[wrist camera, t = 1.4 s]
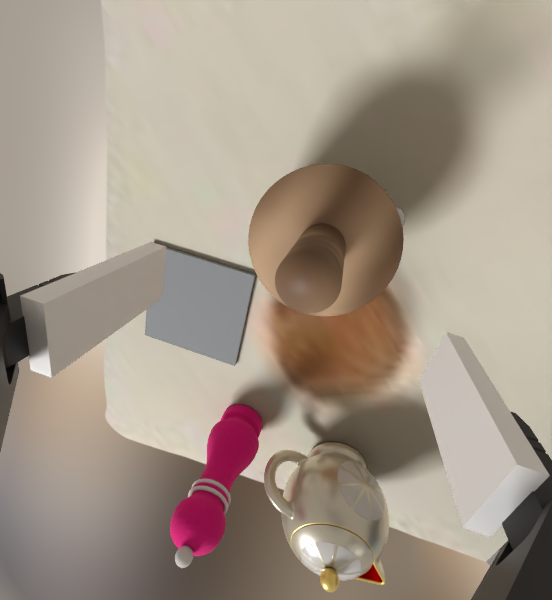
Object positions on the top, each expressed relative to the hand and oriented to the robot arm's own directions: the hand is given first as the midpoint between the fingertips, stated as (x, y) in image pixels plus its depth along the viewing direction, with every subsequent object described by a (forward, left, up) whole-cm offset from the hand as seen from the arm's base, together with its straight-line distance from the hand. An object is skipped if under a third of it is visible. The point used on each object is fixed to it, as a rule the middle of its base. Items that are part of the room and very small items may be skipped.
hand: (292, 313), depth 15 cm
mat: (+14, +15, -23) cm, 31 cm away
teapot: (-10, +33, -23) cm, 42 cm away
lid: (0, 0, -15) cm, 15 cm away
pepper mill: (+4, +32, -23) cm, 40 cm away
